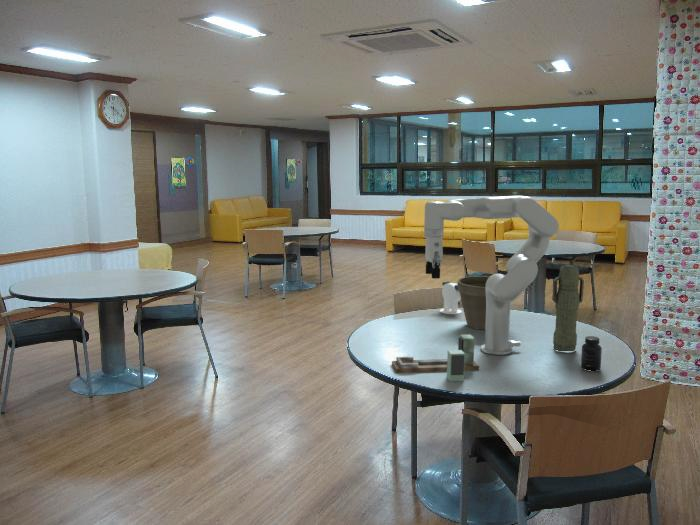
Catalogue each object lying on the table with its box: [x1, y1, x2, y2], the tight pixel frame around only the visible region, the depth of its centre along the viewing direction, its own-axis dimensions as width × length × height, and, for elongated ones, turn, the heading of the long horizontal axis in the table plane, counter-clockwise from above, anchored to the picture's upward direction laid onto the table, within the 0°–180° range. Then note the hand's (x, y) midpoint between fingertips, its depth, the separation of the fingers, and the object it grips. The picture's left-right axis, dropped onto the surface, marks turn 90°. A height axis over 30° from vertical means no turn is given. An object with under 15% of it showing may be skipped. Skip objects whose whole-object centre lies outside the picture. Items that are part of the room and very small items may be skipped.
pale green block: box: [446, 349, 465, 382], centre depth 208 cm, size 5×5×10 cm
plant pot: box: [457, 275, 490, 331], centre depth 276 cm, size 25×25×22 cm
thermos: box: [551, 264, 585, 351], centre depth 239 cm, size 9×12×35 cm
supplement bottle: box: [580, 335, 603, 372], centre depth 219 cm, size 7×7×12 cm
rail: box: [391, 334, 480, 374], centre depth 220 cm, size 31×9×12 cm, turn 96°
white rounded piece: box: [439, 280, 463, 315], centre depth 305 cm, size 12×11×15 cm
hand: (432, 275), depth 235 cm, fingers open, 9 cm apart
